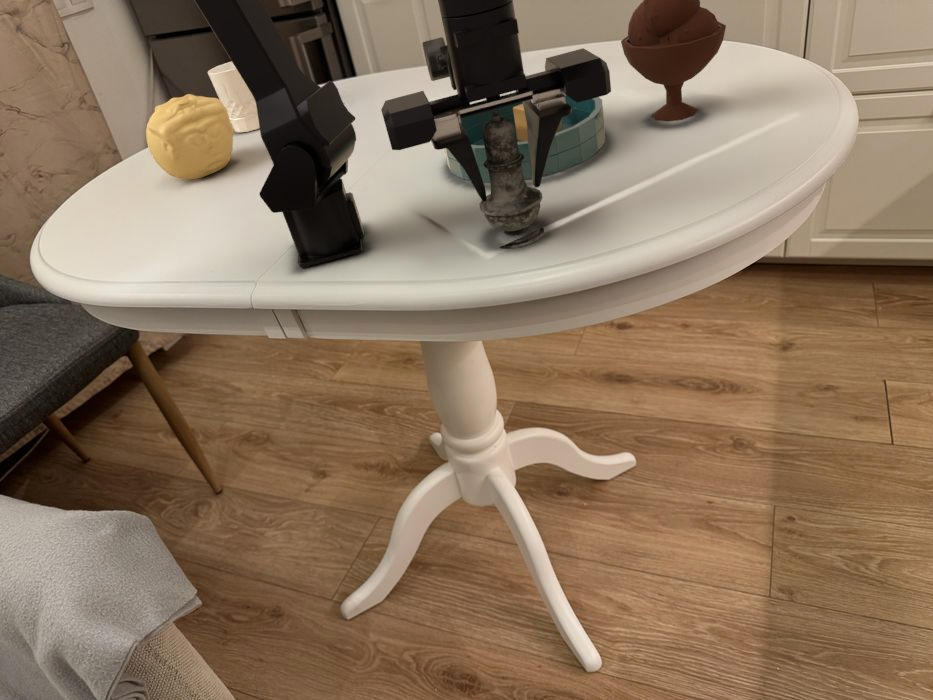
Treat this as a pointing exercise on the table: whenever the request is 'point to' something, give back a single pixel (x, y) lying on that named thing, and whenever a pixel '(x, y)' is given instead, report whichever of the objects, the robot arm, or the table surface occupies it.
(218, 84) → the white cup
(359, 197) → the table surface
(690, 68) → the ice cream bowl
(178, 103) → the sculpture
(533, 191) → the salt shaker
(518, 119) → the block
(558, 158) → the bowl
